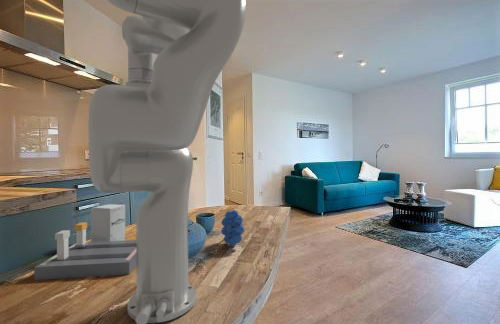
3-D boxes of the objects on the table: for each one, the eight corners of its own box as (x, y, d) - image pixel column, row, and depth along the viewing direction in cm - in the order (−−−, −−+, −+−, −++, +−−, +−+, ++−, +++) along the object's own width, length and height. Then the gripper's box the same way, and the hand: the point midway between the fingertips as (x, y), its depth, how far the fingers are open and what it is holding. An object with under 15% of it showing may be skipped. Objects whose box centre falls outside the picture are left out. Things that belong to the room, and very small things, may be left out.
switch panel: (129, 274, 59) (129, 234, 59) (34, 279, 56) (34, 238, 56) (148, 249, 76) (148, 217, 76) (76, 252, 73) (76, 220, 73)
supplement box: (109, 247, 77) (109, 208, 77) (90, 246, 79) (90, 207, 79) (126, 240, 84) (125, 204, 84) (107, 239, 86) (107, 203, 86)
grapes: (253, 248, 77) (253, 210, 76) (236, 253, 72) (236, 213, 72) (233, 238, 86) (233, 205, 86) (216, 242, 82) (216, 207, 81)
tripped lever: (83, 247, 68) (83, 224, 68) (73, 247, 68) (73, 225, 68) (88, 244, 71) (88, 222, 71) (79, 244, 70) (79, 222, 70)
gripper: (177, 85, 72) (177, 142, 72) (115, 82, 70) (116, 141, 70) (172, 76, 65) (172, 140, 65) (103, 73, 63) (104, 139, 63)
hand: (143, 141), depth 67 cm, fingers open, 9 cm apart
